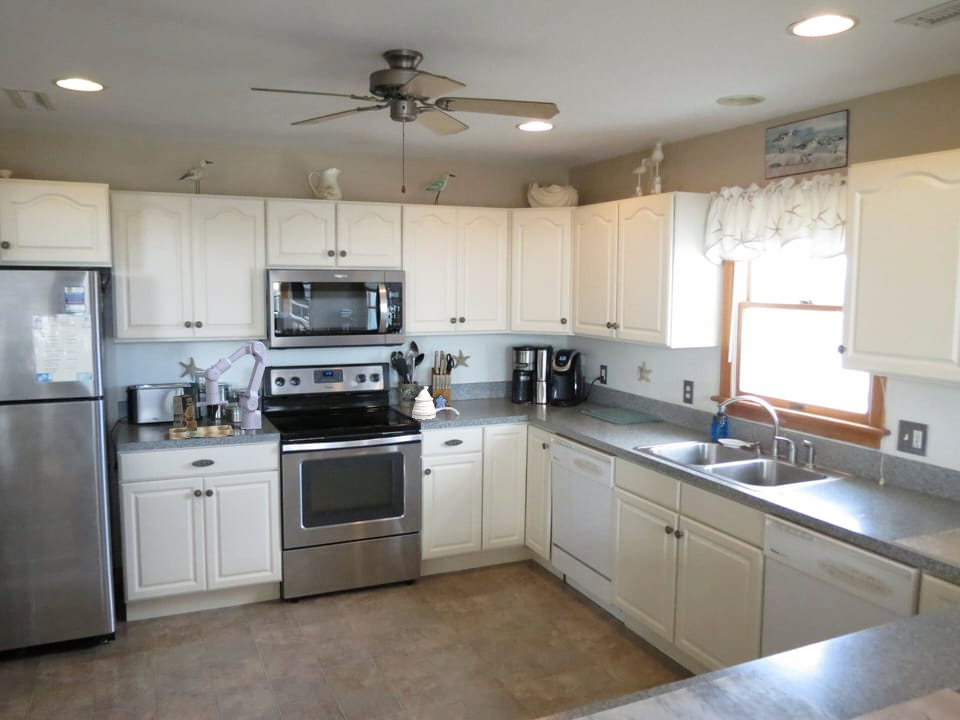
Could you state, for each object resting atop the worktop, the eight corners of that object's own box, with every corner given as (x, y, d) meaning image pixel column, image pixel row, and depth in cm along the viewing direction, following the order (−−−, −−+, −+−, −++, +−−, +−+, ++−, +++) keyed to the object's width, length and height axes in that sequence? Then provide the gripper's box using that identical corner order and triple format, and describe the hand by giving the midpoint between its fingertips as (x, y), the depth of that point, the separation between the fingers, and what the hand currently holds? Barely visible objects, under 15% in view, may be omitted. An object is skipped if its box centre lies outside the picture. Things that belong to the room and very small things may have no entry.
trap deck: (230, 430, 366) (230, 425, 365) (233, 435, 353) (233, 430, 353) (169, 433, 355) (169, 428, 354) (169, 439, 342) (169, 434, 342)
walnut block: (196, 428, 355) (196, 420, 354) (197, 430, 351) (196, 422, 350) (186, 429, 353) (186, 421, 353) (186, 431, 349) (186, 423, 348)
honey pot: (419, 416, 411) (419, 384, 409) (439, 418, 405) (440, 386, 403) (407, 420, 399) (408, 387, 397) (428, 422, 394) (429, 389, 392)
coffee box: (184, 429, 365) (184, 397, 363) (173, 428, 366) (172, 396, 365) (195, 425, 374) (194, 394, 372) (184, 425, 375) (183, 393, 373)
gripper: (196, 395, 351) (197, 423, 352) (228, 393, 357) (229, 420, 358) (195, 392, 357) (196, 420, 359) (227, 391, 363) (228, 418, 365)
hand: (213, 420), depth 359 cm, fingers closed
